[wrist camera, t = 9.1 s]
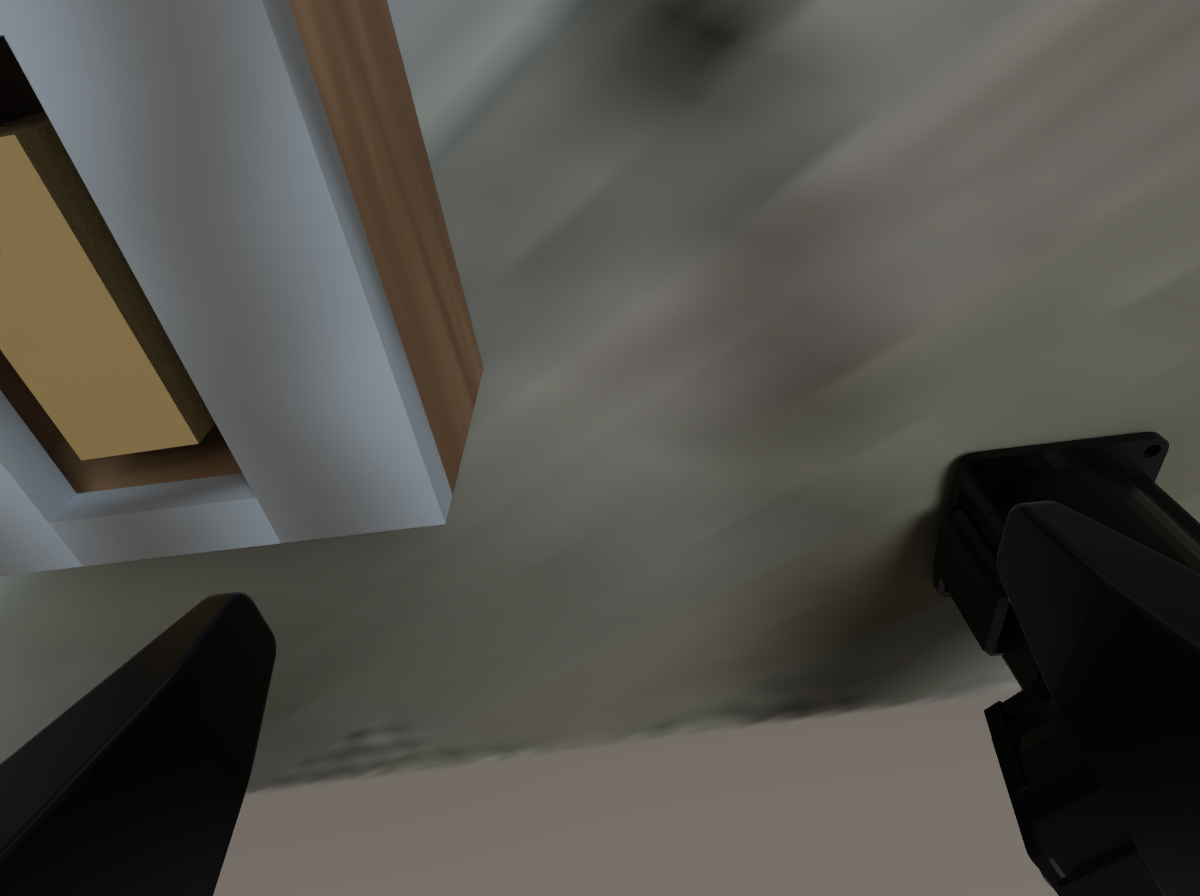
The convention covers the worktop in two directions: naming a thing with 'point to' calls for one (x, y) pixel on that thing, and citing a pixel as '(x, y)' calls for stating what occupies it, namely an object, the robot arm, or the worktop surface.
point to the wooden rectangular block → (82, 311)
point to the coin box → (250, 279)
